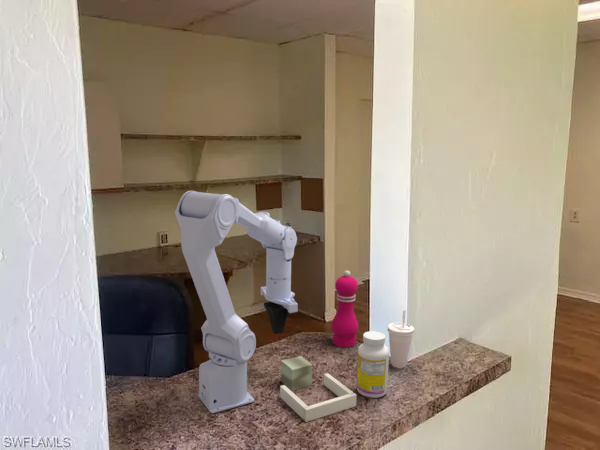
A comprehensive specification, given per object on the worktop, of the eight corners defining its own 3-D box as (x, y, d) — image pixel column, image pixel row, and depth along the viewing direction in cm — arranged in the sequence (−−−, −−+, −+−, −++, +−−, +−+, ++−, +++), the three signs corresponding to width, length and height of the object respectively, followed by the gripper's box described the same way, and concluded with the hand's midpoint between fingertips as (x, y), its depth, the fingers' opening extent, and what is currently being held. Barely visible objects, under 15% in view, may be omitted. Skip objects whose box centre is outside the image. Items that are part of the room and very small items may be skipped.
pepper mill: (329, 346, 128) (331, 273, 125) (332, 336, 135) (334, 266, 132) (357, 349, 127) (360, 275, 124) (358, 338, 134) (361, 267, 131)
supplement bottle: (365, 380, 111) (367, 326, 108) (392, 389, 107) (395, 334, 105) (350, 392, 105) (353, 336, 103) (378, 402, 101) (381, 344, 99)
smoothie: (405, 373, 114) (408, 316, 112) (380, 365, 118) (383, 310, 116) (416, 364, 119) (420, 309, 117) (392, 356, 123) (395, 303, 121)
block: (292, 391, 105) (292, 369, 104) (280, 381, 110) (281, 360, 109) (311, 386, 108) (312, 364, 107) (300, 376, 112) (300, 355, 111)
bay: (306, 422, 94) (306, 410, 93) (280, 397, 103) (280, 385, 102) (356, 406, 100) (356, 394, 99) (327, 383, 109) (327, 373, 108)
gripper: (310, 282, 108) (308, 340, 111) (278, 267, 121) (278, 319, 123) (282, 286, 105) (281, 346, 107) (253, 270, 117) (252, 324, 119)
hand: (277, 332), depth 115 cm, fingers closed
